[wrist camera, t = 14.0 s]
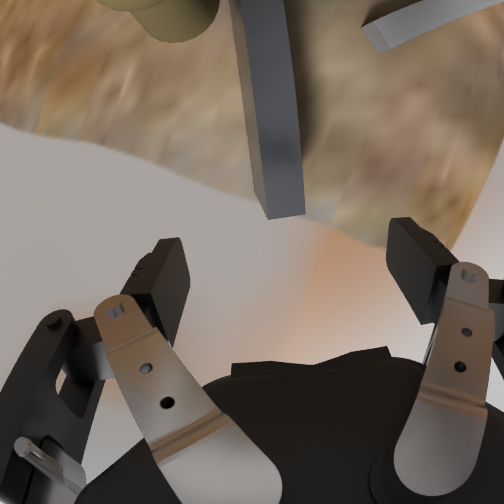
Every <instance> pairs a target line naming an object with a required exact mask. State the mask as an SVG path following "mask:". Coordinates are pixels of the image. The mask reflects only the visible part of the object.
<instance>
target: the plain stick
mask: <svg viewBox="0 0 504 504" xmlns="http://www.w3.org/2000/svg"><path fill="white" fill-rule="evenodd" d="M501 2H504V0H422V1H419V2H417V3H414V4H412V5H409V6H407V7H404V8H402V9H400V10H397V11H395V12H393V13H390V14H388V15H386V16H383V17H381V18H379V19H377V20H375V21H373V22H371V23H369V24H367V25H365V26H363V27H361V29H362V30H363V31H364V33H365V34H366V36H367V37H368V39H369V40H370V42H371V43H372V45H373V46H374V48H375V49H376V51H377V52H381V51H385V50H389V49H392V48H394V47H396V46H398V45H400V44H402V43H404V42H406V41H409V40H411V39H413V38H415V37H417V36H419V35H421V34H423V33H425V32H428V31H430V30H432V29H434V28H437V27H439V26H441V25H443V24H446V23H448V22H450V21H453V20H455V19H458V18H460V17H463V16H465V15H468V14H470V13H473V12H476V11H478V10H481V9H484V8H486V7H489V6H492V5H495V4H498V3H501Z"/></svg>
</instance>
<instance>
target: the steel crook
mask: <svg viewBox="0 0 504 504" xmlns="http://www.w3.org/2000/svg"><path fill="white" fill-rule="evenodd" d="M229 4H230V11H231V18H232V25H233V32H234V39H235V46H236V54H237V61H238V68H239V76H240V83H241V91H242V98H243V106H244V113H245V121H246V129H247V136H248V144H249V152H250V160H251V168H252V176H253V184H254V192H255V194H256V196H257V198H258V200H259V202H260V204H261V206H262V208H263V211H264V213H265V215H266V217H267V219H268V220H270V219H277V218H284V217H290V216H296V215H303V214H305V198H304V182H303V168H302V155H301V143H300V132H299V121H298V111H297V101H296V92H295V83H294V74H293V66H292V58H291V51H290V43H289V36H288V29H287V22H286V15H285V9H284V3H283V0H229Z"/></svg>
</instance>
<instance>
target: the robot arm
mask: <svg viewBox="0 0 504 504" xmlns="http://www.w3.org/2000/svg"><path fill="white" fill-rule="evenodd" d="M386 262H387V267H388V270H389V271H390V273H391V275H392V276H393V278H394V279H395V281H396V283H397V284H398V286H399V288H400V289H401V291H402V292H403V294H404V296H405V298H406V299H407V301H408V303H409V304H410V306H411V308H412V310H413V311H414V313H415V315H416V317H417V318H418V320H419V322H420V324H421V325H423V324H428V323H434V324H435V326H434V329H433V332H432V335H431V338H430V342H429V344H428V347H427V351H426V354H425V357H424V360H423V363H422V364H421V363H419V362H416V361H413V360H410V359H405V358H399V357H391V354H390V352H389V349H388V347H387V346H384V347H379V348H373V349H367V350H360V351H354V352H350V353H347V354H344V355H341V356H339V357H336V358H333V359H330V360H327V361H324V362H321V363H318V364H315V365H305V364H295V363H284V362H276V361H263V362H248V363H233V364H232V367H231V375H229V376H225V377H222V378H220V379H216V380H214V381H212V382H210V383H208V384H206V385H204V386H203V387H201V386H200V385H199V384H198V383H197V381H196V380H195V379H194V378H193V376H192V375H191V374H190V372H189V371H188V370H187V368H186V367H185V366H184V365H183V363H182V362H181V360H180V359H179V358H178V356H177V355H176V354H175V352H174V351H173V350H172V348H173V345H174V341H175V337H176V334H177V330H178V327H179V323H180V319H181V316H182V312H183V309H184V305H185V302H186V299H187V295H188V292H189V289H190V275H189V270H188V267H187V262H186V258H185V254H184V250H183V246H182V242H181V240H180V238H179V237H176V238H168V239H160V240H159V241H158V243H157V245H156V246H155V248H154V250H153V252H152V253H148V254H147V255H145V256H144V257H143V258H142V259H140V260H139V262H138V264H137V265H136V267H135V270H133V272H132V273H131V277H129V279H128V280H127V282H126V284H125V286H124V287H123V289H122V291H121V293H120V294H119V295H116V296H112V297H110V298H107V299H106V300H104V301H103V302H101V303H100V304H99V305H98V306H97V307H96V309H95V311H94V316H93V317H89V318H85V319H82V320H78V321H75V319H74V318H73V315H72V313H71V312H70V311H68V310H64V309H63V310H57V311H54V312H52V313H50V314H48V315H47V316H46V317H44V318H43V319H42V321H41V322H40V323H39V325H38V326H37V328H36V330H35V331H34V333H33V334H32V336H31V338H30V339H29V341H28V343H27V344H26V346H25V348H24V350H23V351H22V353H21V355H20V357H19V358H18V360H17V362H16V363H15V365H14V367H13V369H12V371H11V373H10V375H9V377H8V378H7V380H6V382H5V384H4V386H3V388H2V390H1V392H0V504H504V412H502V411H500V410H499V409H497V408H496V407H494V406H492V405H490V404H489V403H487V402H486V401H485V399H486V393H487V388H488V381H489V374H490V365H491V357H492V358H493V360H494V362H495V364H496V366H497V367H498V369H499V371H500V373H501V375H502V377H503V379H504V280H498V279H489V277H488V274H487V273H486V271H485V270H484V269H482V268H481V267H479V266H478V265H475V264H472V263H469V262H459V261H458V260H457V259H456V258H455V257H454V256H453V254H452V253H451V252H450V251H449V250H448V249H447V248H445V246H444V245H443V244H442V243H441V242H439V240H438V239H437V238H436V237H435V236H434V235H433V234H432V233H430V232H428V231H426V230H424V229H423V228H421V227H420V226H419V225H418V224H416V223H415V222H414V221H413V220H412V219H411V218H410V217H402V218H392V219H391V220H390V223H389V231H388V242H387V251H386ZM61 368H62V370H63V371H64V372H65V374H66V375H67V376H66V378H65V380H64V383H63V385H62V388H61V390H60V392H59V395H58V394H57V392H56V386H55V384H56V379H57V377H58V375H59V373H60V370H61ZM110 378H115V379H116V381H117V383H118V385H119V388H120V390H121V392H122V394H123V396H124V398H125V401H126V402H127V405H128V407H129V409H130V411H131V413H132V415H133V417H134V419H135V421H136V423H137V425H138V427H139V429H140V431H141V432H142V434H143V436H144V438H143V439H142V440H140V441H139V442H138V443H137V444H136V445H135V446H134V447H132V448H131V449H130V450H129V451H128V452H126V453H125V454H124V455H123V456H122V457H121V458H119V459H118V460H117V461H116V462H115V463H113V464H112V465H111V466H110V467H109V468H107V469H106V470H105V471H104V472H102V473H101V474H100V475H99V476H98V477H96V478H95V479H94V480H92V482H90V483H89V484H88V485H87V484H86V474H85V471H84V469H83V467H82V466H81V463H82V459H83V455H84V451H85V447H86V443H87V440H88V436H89V433H90V429H91V426H92V422H93V419H94V415H95V412H96V409H97V405H98V402H99V399H100V396H101V393H102V389H103V386H104V383H105V380H106V379H110Z"/></svg>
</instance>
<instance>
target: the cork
mask: <svg viewBox="0 0 504 504" xmlns="http://www.w3.org/2000/svg"><path fill="white" fill-rule="evenodd" d="M97 1H98V2H99V3H100V4H102V5H105V6H107V7H109V8H111V9H113V10H116V11H128V12H130V13H131V14H132V15H133V16H134V17H135V19H136V20H137V21H138V22H139V23H140V24H141V25H142V26H143V27H144V29H145V30H146V31H147V32H148V33H149V34H150V35H151V36H152V37H154V38H156V39H158V40H159V41H164V42H169V43H176V42H184V41H187V40H190V39H192V38H195V37H197V36H198V35H200V34H201V33H203V32H204V31H206V29H207V28H208V27H209V26H210V25H211V23H212V22H213V21H214V19H215V16H216V14H217V11H218V0H97Z"/></svg>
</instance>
